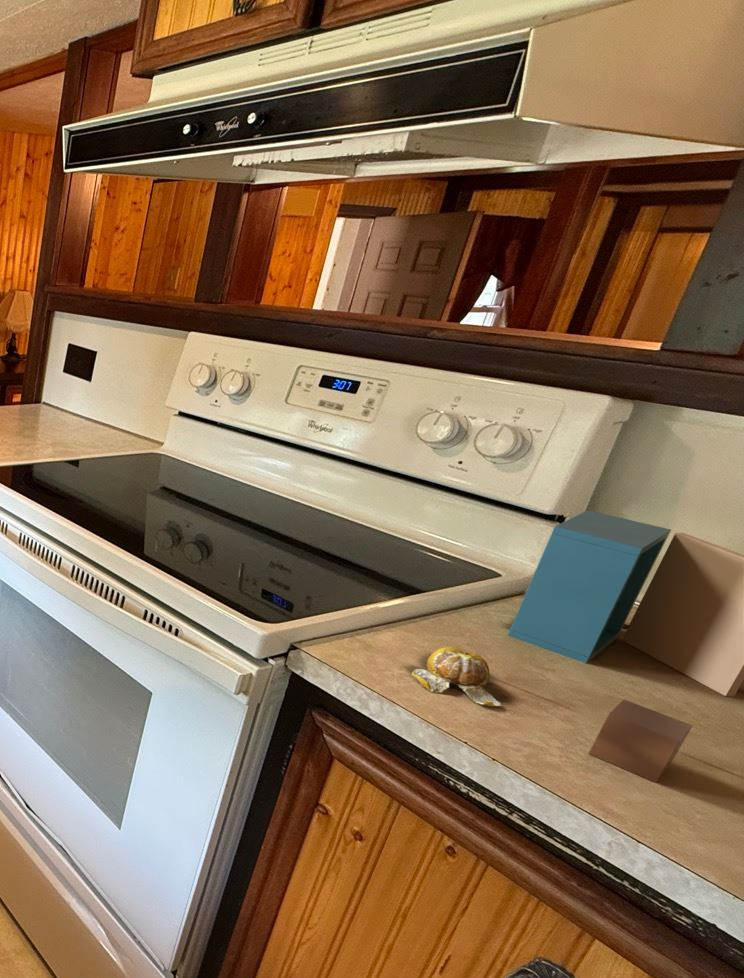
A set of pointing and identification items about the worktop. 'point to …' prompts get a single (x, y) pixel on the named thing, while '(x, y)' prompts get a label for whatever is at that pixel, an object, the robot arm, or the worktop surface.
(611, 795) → the worktop surface
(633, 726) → the block
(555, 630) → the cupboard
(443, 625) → the worktop surface
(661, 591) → the tan rectangular box
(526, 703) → the worktop surface
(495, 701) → the fruit
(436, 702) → the worktop surface
